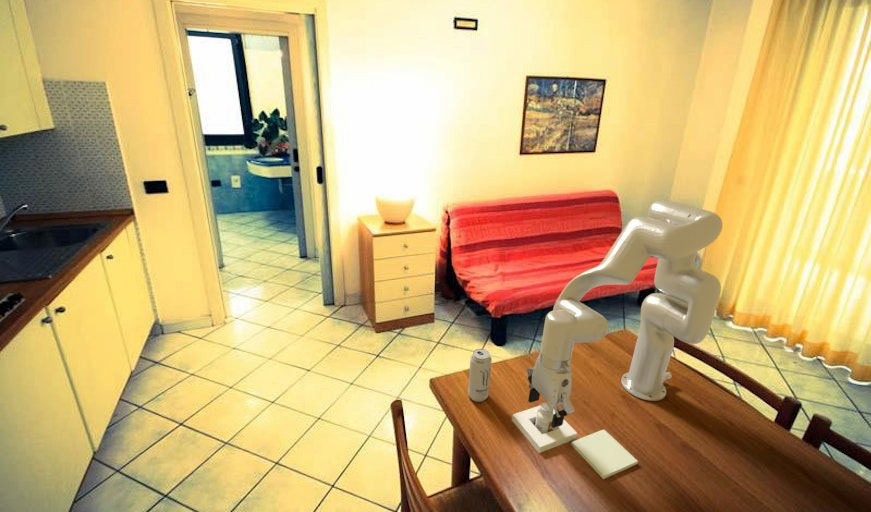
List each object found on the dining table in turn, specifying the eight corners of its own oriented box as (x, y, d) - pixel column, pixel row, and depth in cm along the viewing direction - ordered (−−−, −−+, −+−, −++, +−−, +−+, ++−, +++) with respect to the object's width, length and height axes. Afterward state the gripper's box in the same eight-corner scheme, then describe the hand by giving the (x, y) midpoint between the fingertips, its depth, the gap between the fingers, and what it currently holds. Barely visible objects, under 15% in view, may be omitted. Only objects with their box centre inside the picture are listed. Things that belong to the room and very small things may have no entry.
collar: (546, 408, 117) (547, 402, 116) (576, 438, 107) (577, 433, 106) (511, 420, 112) (512, 414, 111) (538, 453, 102) (539, 447, 101)
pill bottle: (552, 437, 107) (556, 414, 104) (535, 434, 108) (538, 411, 105) (551, 424, 111) (555, 402, 108) (534, 421, 112) (538, 399, 109)
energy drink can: (478, 406, 117) (482, 363, 111) (463, 395, 121) (466, 352, 115) (492, 397, 121) (496, 354, 115) (477, 386, 125) (480, 345, 119)
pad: (603, 432, 109) (603, 429, 109) (636, 464, 100) (637, 461, 100) (571, 444, 105) (571, 441, 105) (603, 479, 96) (604, 476, 95)
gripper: (591, 375, 95) (578, 432, 101) (544, 337, 110) (536, 389, 116) (566, 383, 92) (554, 441, 98) (521, 342, 107) (514, 395, 113)
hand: (544, 412), depth 107 cm, fingers open, 9 cm apart
